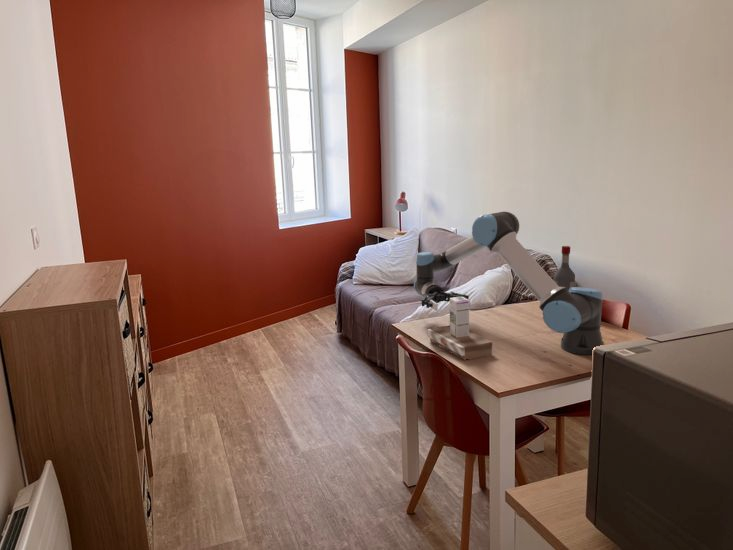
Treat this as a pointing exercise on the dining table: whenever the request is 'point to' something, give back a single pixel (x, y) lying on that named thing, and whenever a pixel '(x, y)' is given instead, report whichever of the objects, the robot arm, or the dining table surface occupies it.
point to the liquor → (565, 271)
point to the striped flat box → (461, 343)
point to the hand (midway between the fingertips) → (453, 305)
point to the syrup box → (459, 317)
